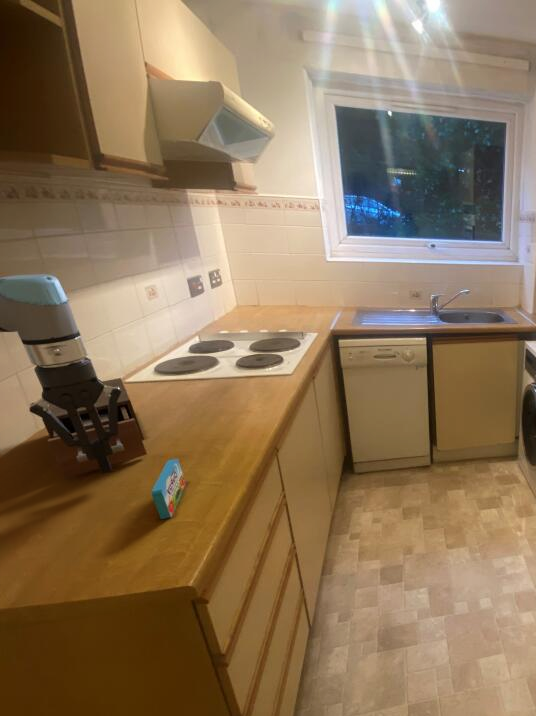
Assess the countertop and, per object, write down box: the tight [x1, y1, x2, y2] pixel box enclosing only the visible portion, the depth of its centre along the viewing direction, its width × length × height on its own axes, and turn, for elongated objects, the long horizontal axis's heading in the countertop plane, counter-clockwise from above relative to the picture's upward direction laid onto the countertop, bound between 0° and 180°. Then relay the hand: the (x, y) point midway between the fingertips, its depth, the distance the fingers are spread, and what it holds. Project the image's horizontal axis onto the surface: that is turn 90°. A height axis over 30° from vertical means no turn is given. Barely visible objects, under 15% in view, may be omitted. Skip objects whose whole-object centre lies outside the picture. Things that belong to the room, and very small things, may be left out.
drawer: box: [47, 405, 148, 479], centre depth 97 cm, size 24×14×9 cm, turn 45°
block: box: [81, 413, 109, 430], centre depth 98 cm, size 5×5×7 cm
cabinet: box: [41, 377, 145, 441], centre depth 106 cm, size 20×15×11 cm
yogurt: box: [151, 458, 187, 520], centre depth 84 cm, size 12×2×6 cm, turn 24°
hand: (106, 470), depth 88 cm, fingers closed
